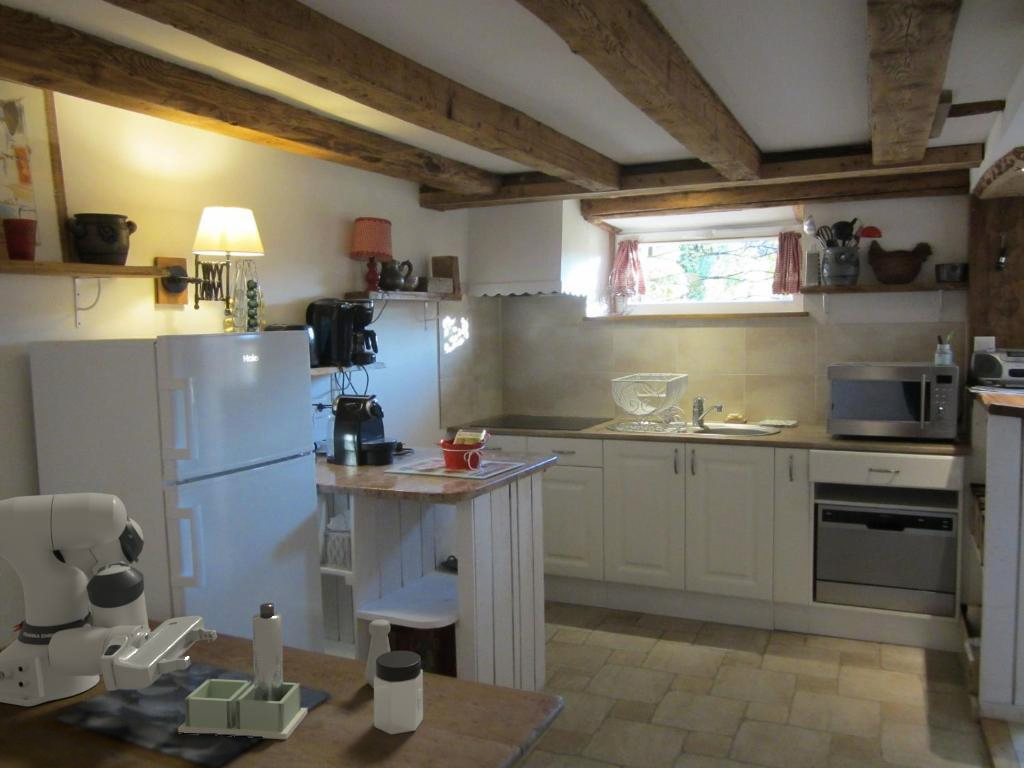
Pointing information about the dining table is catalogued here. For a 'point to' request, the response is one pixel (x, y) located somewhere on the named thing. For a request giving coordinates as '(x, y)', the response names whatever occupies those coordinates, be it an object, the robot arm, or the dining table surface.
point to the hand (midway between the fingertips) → (202, 648)
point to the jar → (398, 692)
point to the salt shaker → (377, 646)
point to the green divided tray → (242, 710)
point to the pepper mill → (268, 654)
